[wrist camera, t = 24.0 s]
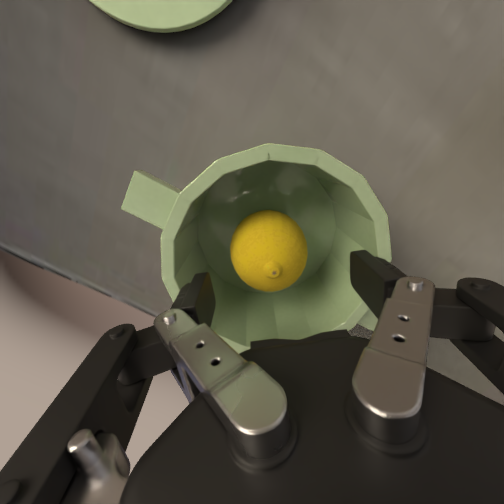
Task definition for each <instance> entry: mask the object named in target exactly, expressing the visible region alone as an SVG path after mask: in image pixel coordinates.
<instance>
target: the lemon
mask: <svg viewBox="0 0 504 504" xmlns="http://www.w3.org/2000/svg"><path fill="white" fill-rule="evenodd" d="M230 253H231V260H232V263H233V266H234V268H235V271H236V272H237V274H238V275H239V276H240V278H241V279H242V280H243V281H244V282H245V283H246V284H248V285H249V286H251V287H253V288H255V289H257V290H261V291H265V292H274V291H278V290H282V289H285V288H287V287H289V286H290V285H292V284H293V283H294V282H296V281H297V279H298V278H299V277H300V276H301V274H302V272H303V270H304V268H305V266H306V261H307V256H308V251H307V242H306V239H305V236H304V234H303V231H302V229H301V228H300V227H299V225H298V224H297V223H296V222H295V221H294V220H293V219H292V218H290V217H289V216H288V215H286V214H284V213H281V212H279V211H273V210H262V211H258V212H255V213H252V214H250V215H249V216H247V217H246V218H244V219H243V220H242V221H241V222H240V224H239V225H238V226H237V227H236V229H235V231H234V233H233V235H232V239H231V244H230Z"/></svg>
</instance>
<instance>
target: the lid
mask: <svg viewBox="0 0 504 504" xmlns="http://www.w3.org/2000/svg"><path fill="white" fill-rule="evenodd" d="M89 1H90V2H91V3H92V4H93V5H94V6H96V7H97V8H99V9H100V10H101V11H103V12H104V13H106V14H107V15H109V16H110V17H112V18H114V19H116V20H118V21H120V22H121V23H123V24H126V25H129V26H131V27H134V28H137V29H141V30H145V31H150V32H162V33H169V32H178V31H183V30H187V29H190V28H194V27H196V26H198V25H200V24H202V23H205V22H207V21H208V20H210V19H211V18H213V17H214V16H216V15H217V14H219V13H220V12H221V11H222V10H223V9H224V8H225V7H227V6H228V5H229V4H230V3H231V2H232V1H233V0H89Z"/></svg>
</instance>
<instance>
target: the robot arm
mask: <svg viewBox="0 0 504 504" xmlns="http://www.w3.org/2000/svg"><path fill="white" fill-rule="evenodd" d="M350 281H351V285H352V287H353V289H354V290H355V291H356V292H357V294H358V295H359V296H360V297H361V299H362V300H363V301H364V302H365V304H366V305H367V306H368V307H369V309H370V310H371V311H372V313H373V314H374V315H375V316H376V318H377V319H378V321H377V324H376V326H375V329H374V331H373V334H372V337H371V339H370V340H369V339H366V338H362V337H355V336H350V334H349V333H348V331H347V329H343V330H335V331H327V332H321V333H318V334H315V335H312V336H309V337H306V338H303V339H300V340H293V339H275V338H273V339H265V340H258V341H250V349H248V350H246V351H243V352H241V353H239V354H238V353H237V352H236V351H235V350H234V349H233V348H232V347H231V346H230V345H229V344H228V343H226V342H225V341H224V340H223V339H222V338H221V337H220V336H219V335H218V334H217V333H216V332H215V331H213V330H212V329H211V324H212V319H213V315H214V311H215V306H216V300H215V294H214V290H213V286H212V282H211V277H210V274H209V272H204V273H197V274H195V275H194V277H193V279H192V281H191V283H187V284H186V285H184V286H183V287H182V288H181V290H180V291H179V293H178V295H177V297H176V299H175V301H174V303H173V305H172V307H171V309H170V310H167V311H165V312H163V313H161V314H160V315H158V316H157V317H156V318H155V320H154V325H153V326H151V327H148V328H145V329H142V330H139V331H136V330H135V327H134V325H132V324H122V325H119V326H116V327H114V328H112V329H110V330H109V331H107V332H106V333H105V334H104V335H103V336H102V337H101V338H100V339H99V341H98V342H97V344H96V345H95V346H94V347H93V349H92V350H91V352H90V353H89V354H88V355H87V357H86V358H85V360H84V361H83V362H82V363H81V365H80V366H79V367H78V369H77V370H76V371H75V373H74V374H73V375H72V377H71V378H70V380H69V381H68V382H67V383H66V385H65V386H64V387H63V389H62V390H61V391H60V393H59V394H58V396H57V397H56V398H55V399H54V401H53V402H52V403H51V405H50V406H49V407H48V409H47V410H46V411H45V413H44V414H43V415H42V417H41V418H40V419H39V421H38V422H37V423H36V425H35V426H34V427H33V429H32V430H31V431H30V433H29V434H28V435H27V437H26V438H25V439H24V441H23V442H22V443H21V445H20V446H19V448H18V449H17V450H16V451H15V453H14V454H13V456H12V457H11V458H10V460H9V461H8V462H7V463H6V465H5V466H4V467H3V469H2V470H1V471H0V504H504V406H503V405H501V404H499V403H497V402H495V401H493V400H491V399H489V398H487V397H485V396H483V395H481V394H479V393H477V392H475V391H473V390H471V389H469V388H467V387H465V386H464V385H462V384H460V383H458V382H456V381H454V380H452V379H450V378H448V377H446V376H444V375H442V374H440V373H438V372H436V371H434V370H432V369H430V368H428V367H426V362H427V354H428V345H429V337H435V338H445V339H450V341H451V342H452V343H453V344H454V345H455V346H456V347H457V348H458V349H459V350H460V351H461V352H462V353H463V354H464V355H465V356H466V357H467V358H468V359H469V360H470V361H471V362H472V363H473V364H474V365H475V366H476V367H477V368H478V369H479V370H480V371H481V372H482V373H483V374H484V375H485V376H486V377H487V378H488V379H489V380H490V381H491V382H492V383H493V384H494V385H495V386H496V387H497V388H498V389H499V390H500V391H501V392H502V393H503V394H504V342H503V341H501V340H500V339H499V338H498V337H496V336H495V335H494V331H495V327H496V326H497V327H498V328H499V329H500V330H501V331H502V332H503V333H504V287H503V286H502V285H500V284H498V283H496V282H493V281H490V280H486V279H481V278H463V279H460V280H459V281H458V282H457V288H456V289H441V288H435V285H434V283H433V282H431V281H429V280H427V279H424V278H420V277H412V276H409V277H408V276H406V275H405V274H404V273H402V272H401V271H400V270H399V269H397V268H396V267H395V266H393V265H391V263H389V262H388V261H387V260H385V259H382V258H379V257H377V256H376V257H374V256H373V255H372V254H370V253H369V252H368V251H367V250H358V251H351V252H350ZM168 370H171V373H172V374H173V376H174V377H175V379H176V381H177V383H178V384H179V386H180V388H181V389H182V391H183V392H184V394H185V396H186V397H187V399H188V401H189V405H188V406H187V407H186V408H185V409H184V410H183V411H182V413H181V414H180V415H179V416H178V417H177V418H176V419H175V420H174V421H173V422H172V423H171V425H170V426H169V427H168V428H167V429H166V430H165V431H164V432H163V433H162V434H161V435H160V437H159V438H158V439H157V440H156V441H155V442H154V443H153V444H152V445H151V446H150V447H149V449H148V450H147V451H146V452H145V453H144V454H143V456H142V457H141V458H140V459H139V461H138V462H137V464H136V465H135V467H134V468H133V470H132V472H131V474H130V475H129V473H130V462H129V459H128V457H127V455H126V453H125V451H126V449H127V446H128V443H129V441H130V438H131V435H132V433H133V430H134V427H135V425H136V422H137V419H138V417H139V414H140V411H141V409H142V406H143V403H144V401H145V398H146V395H147V393H148V390H149V387H150V384H151V381H152V379H153V376H155V375H157V374H160V373H163V372H165V371H168ZM117 379H118V380H117Z"/></svg>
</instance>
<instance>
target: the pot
mask: <svg viewBox="0 0 504 504" xmlns="http://www.w3.org/2000/svg"><path fill="white" fill-rule="evenodd" d="M121 209H122V210H124V211H126V212H128V213H130V214H132V215H134V216H136V217H138V218H140V219H142V220H145V221H147V222H149V223H151V224H153V225H155V226H157V227H159V228H161V229H163V231H162V234H161V270H162V280H163V282H164V284H165V286H166V288H167V291H168V293H169V295H170V297H171V299H172V301H173V303H174V301H175V299H176V297H177V295H178V293H179V291H180V290H181V288H182V287H183V286H184V285H186V284H187V283H191V281H192V279H193V277H194V275H195V274H197V273H204V272H209V274H210V277H211V282H212V286H213V290H214V294H215V300H216V306H215V311H214V315H213V319H212V324H211V329H212V330H213V331H215V332H216V333H217V334H218V335H219V336H220V337H221V338H222V339H223V340H224V341H225V342H226V343H228V344H229V345H230V346H231V347H232V348H233V349H234V350H235V351H236V352H237V353H241V352H243V351H246V350H248V349H250V341H258V340H265V339H273V338H275V339H293V340H300V339H303V338H306V337H309V336H312V335H315V334H318V333H321V332H327V331H335V330H343V329H347V331H349V330H351V329H352V328H354V327H355V325H356V324H359V325H361V326H363V327H365V328H367V329H369V330H371V331H374V329H375V326H376V324H377V321H378V319H377V318H376V316H375V315H374V314H373V313H372V311H371V310H370V309H369V307H368V306H367V305H366V304H365V302H364V301H363V300H362V299H361V297H360V296H359V295H358V294H357V292H356V291H355V290H354V289H353V287H352V285H351V281H350V252H351V251H358V250H367V251H368V252H369V253H370V254H372V255H373V256H374V257H376V256H377V257H379V258H382V259H385V260H387V261H388V262H389V263H391V260H392V255H391V244H390V234H389V223H388V216H387V213H386V212H385V210H384V208H383V207H382V205H381V204H380V202H379V200H378V199H377V197H376V195H375V194H374V192H373V191H372V189H371V187H370V186H369V184H368V182H367V181H366V179H365V177H364V176H363V175H361V174H360V173H358V172H356V171H355V170H353V169H352V168H350V167H348V166H347V165H345V164H344V163H342V162H340V161H339V160H337V159H336V158H334V157H333V156H331V155H329V154H328V153H326V152H325V151H323V150H320V149H315V148H306V147H298V146H289V145H281V144H272V143H268V144H267V143H266V144H263V145H260V146H257V147H254V148H251V149H248V150H244V151H241V152H238V153H235V154H232V155H229V156H226V157H223V158H220V159H217V160H215V161H214V162H213V163H212V164H211V165H210V166H209V167H208V168H207V169H205V170H204V171H203V172H202V173H201V174H200V175H199V176H198V177H197V178H195V179H194V180H193V181H192V182H191V183H190V184H189V185H188V186H187V187H185V188H184V189H183V190H182V191H181V190H179V189H177V188H176V187H174V186H172V185H170V184H168V183H166V182H164V181H162V180H160V179H158V178H156V177H155V176H153V175H151V174H149V173H147V172H145V171H143V170H137V171H134V173H133V176H132V179H131V182H130V184H129V187H128V190H127V193H126V196H125V199H124V201H123V204H122V207H121ZM262 210H273V211H279V212H281V213H284V214H286V215H288V216H289V217H290V218H292V219H293V220H294V221H295V222H296V223H297V224H298V225H299V227H300V228H301V229H302V231H303V234H304V236H305V239H306V242H307V251H308V256H307V261H306V266H305V268H304V270H303V272H302V274H301V276H300V277H299V278H298V279H297V281H296V282H294V283H293V284H292V285H290V286H289V287H287V288H285V289H282V290H278V291H274V292H265V291H261V290H257V289H255V288H253V287H251V286H249V285H248V284H246V283H245V282H244V281H243V280H242V279H241V278H240V276H239V275H238V274H237V272H236V271H235V268H234V266H233V263H232V260H231V253H230V244H231V239H232V235H233V233H234V231H235V229H236V227H237V226H238V225H239V224H240V222H241V221H242V220H243V219H244V218H246V217H247V216H249V215H250V214H252V213H255V212H258V211H262Z"/></svg>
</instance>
